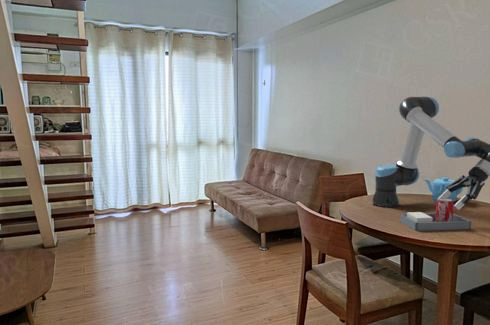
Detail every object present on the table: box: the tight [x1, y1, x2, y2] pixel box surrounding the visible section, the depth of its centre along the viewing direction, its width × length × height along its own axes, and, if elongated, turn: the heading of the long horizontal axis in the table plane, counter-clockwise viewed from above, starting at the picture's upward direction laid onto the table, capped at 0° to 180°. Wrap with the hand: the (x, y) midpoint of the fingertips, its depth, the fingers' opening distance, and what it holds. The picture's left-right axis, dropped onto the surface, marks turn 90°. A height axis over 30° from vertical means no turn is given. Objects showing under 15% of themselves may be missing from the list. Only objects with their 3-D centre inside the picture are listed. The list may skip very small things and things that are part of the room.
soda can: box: [435, 198, 455, 222], centre depth 166 cm, size 7×7×12 cm
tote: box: [399, 212, 472, 232], centre depth 166 cm, size 25×16×4 cm, turn 91°
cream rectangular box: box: [406, 211, 433, 223], centre depth 166 cm, size 7×10×5 cm
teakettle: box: [422, 177, 464, 205], centre depth 215 cm, size 19×19×15 cm
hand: (447, 204), depth 165 cm, fingers open, 13 cm apart
